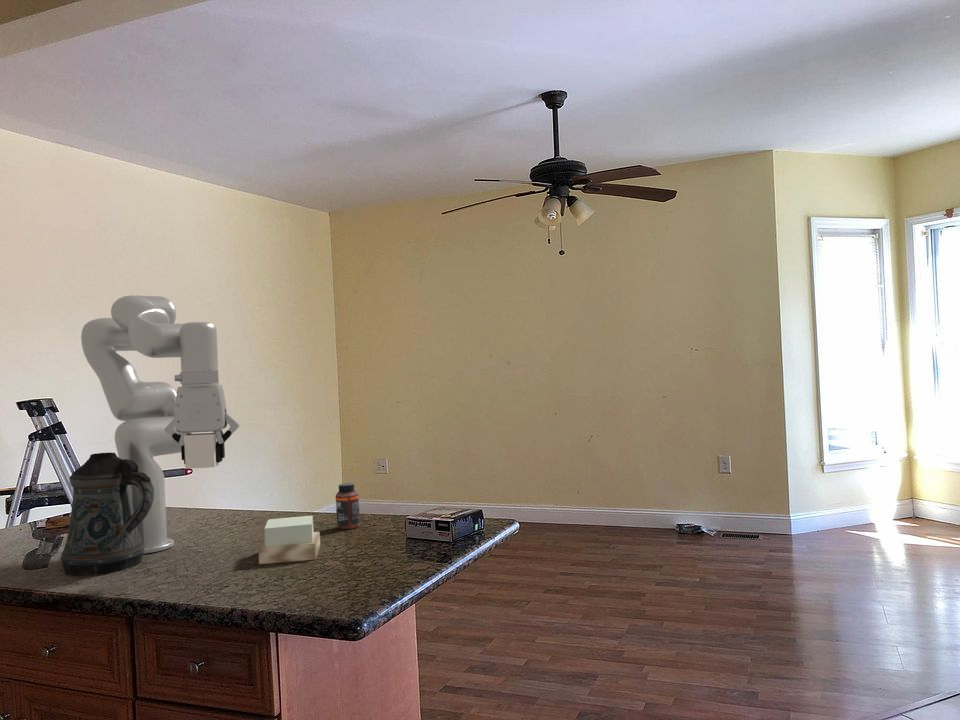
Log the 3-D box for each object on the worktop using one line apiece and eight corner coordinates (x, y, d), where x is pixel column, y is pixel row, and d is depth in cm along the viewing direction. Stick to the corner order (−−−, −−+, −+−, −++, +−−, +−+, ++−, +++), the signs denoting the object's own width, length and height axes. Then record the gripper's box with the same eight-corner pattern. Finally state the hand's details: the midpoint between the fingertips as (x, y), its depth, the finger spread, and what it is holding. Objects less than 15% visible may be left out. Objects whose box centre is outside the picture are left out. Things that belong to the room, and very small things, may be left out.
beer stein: (68, 562, 169) (63, 453, 169) (160, 551, 176) (155, 446, 176) (54, 581, 154) (49, 461, 154) (156, 567, 160) (151, 452, 161)
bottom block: (259, 566, 160) (258, 548, 160) (267, 552, 172) (267, 535, 172) (315, 561, 161) (314, 543, 161) (320, 548, 173) (319, 531, 173)
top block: (265, 546, 160) (264, 528, 160) (269, 536, 170) (268, 519, 170) (312, 542, 162) (311, 524, 162) (313, 532, 172) (312, 515, 172)
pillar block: (185, 468, 156) (184, 435, 156) (193, 464, 162) (191, 433, 162) (214, 467, 157) (213, 434, 157) (221, 463, 163) (219, 431, 163)
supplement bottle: (362, 524, 195) (360, 481, 195) (356, 529, 189) (354, 485, 189) (340, 525, 196) (338, 482, 196) (334, 530, 190) (332, 486, 190)
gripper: (153, 381, 155) (156, 467, 155) (237, 378, 157) (241, 462, 157) (164, 380, 163) (167, 462, 163) (244, 377, 165) (248, 458, 165)
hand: (203, 461), depth 160 cm, fingers closed on pillar block, 6 cm apart
